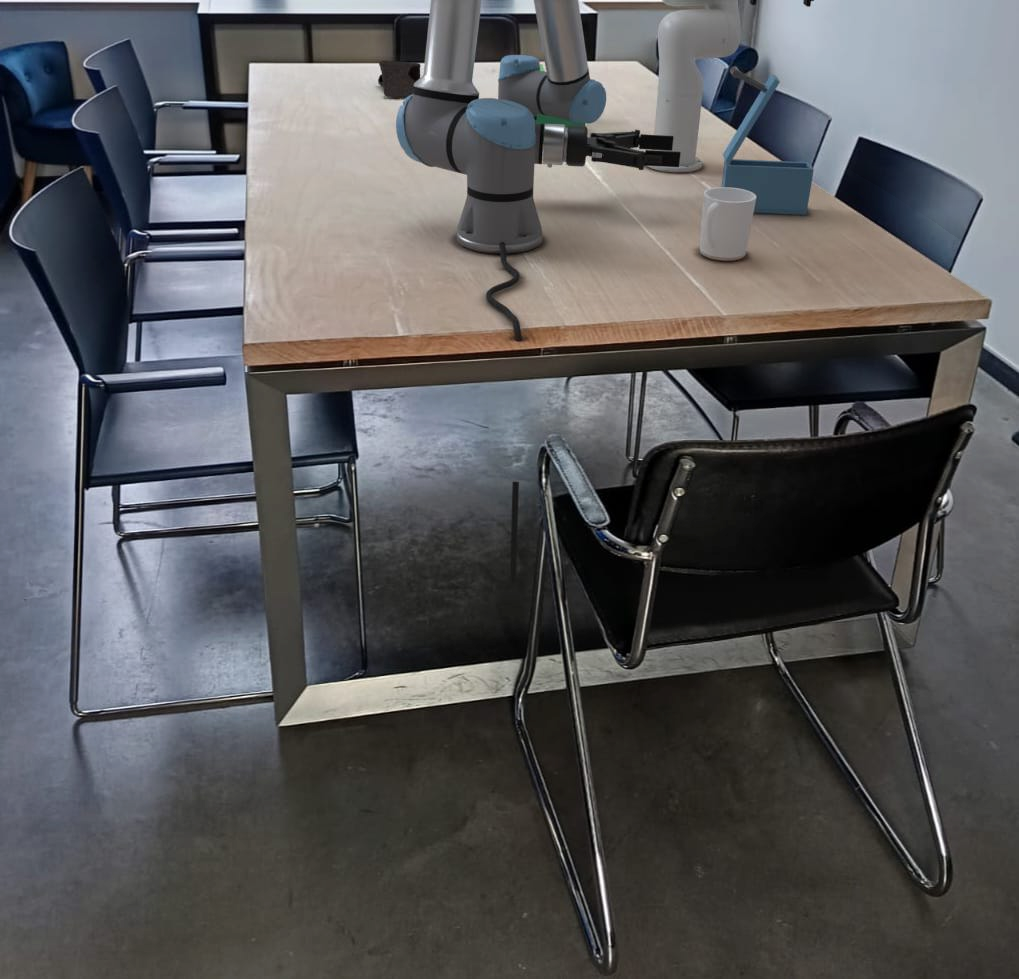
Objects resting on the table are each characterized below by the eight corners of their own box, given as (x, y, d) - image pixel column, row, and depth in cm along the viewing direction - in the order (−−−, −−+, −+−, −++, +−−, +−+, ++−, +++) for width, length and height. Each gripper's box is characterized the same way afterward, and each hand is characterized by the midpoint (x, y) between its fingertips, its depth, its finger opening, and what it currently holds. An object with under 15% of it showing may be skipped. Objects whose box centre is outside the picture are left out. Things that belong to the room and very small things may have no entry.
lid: (776, 76, 204) (738, 54, 203) (780, 81, 200) (740, 59, 198) (727, 156, 213) (690, 136, 211) (729, 163, 208) (691, 143, 207)
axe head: (443, 87, 294) (392, 77, 287) (436, 115, 299) (385, 106, 292) (421, 62, 307) (371, 52, 300) (414, 89, 311) (365, 80, 304)
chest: (802, 207, 217) (809, 162, 212) (806, 215, 212) (813, 169, 208) (719, 203, 217) (724, 158, 213) (721, 211, 213) (726, 165, 209)
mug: (713, 241, 197) (720, 184, 192) (757, 252, 193) (765, 194, 187) (681, 256, 190) (687, 197, 185) (726, 268, 185) (733, 208, 180)
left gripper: (564, 150, 223) (667, 155, 223) (565, 181, 202) (680, 187, 201) (566, 112, 220) (672, 117, 219) (568, 139, 198) (685, 145, 198)
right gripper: (840, -104, 190) (823, 3, 199) (740, -107, 190) (728, 0, 199) (850, -102, 183) (832, 9, 192) (747, -104, 184) (734, 6, 193)
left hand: (676, 151), depth 210 cm, fingers open, 13 cm apart
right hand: (779, 4), depth 196 cm, fingers open, 9 cm apart
